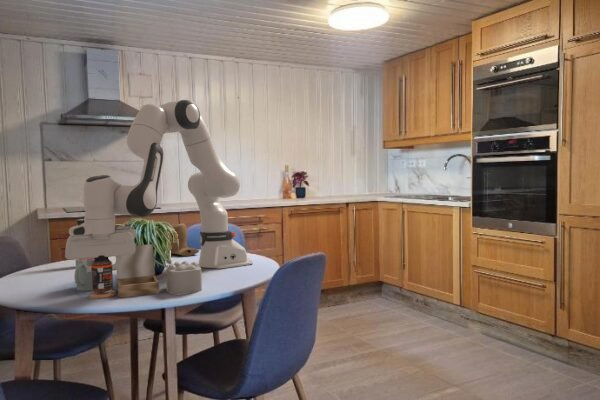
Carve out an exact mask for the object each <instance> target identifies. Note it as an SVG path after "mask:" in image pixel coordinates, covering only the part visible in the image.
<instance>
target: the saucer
mask: <svg viewBox="0 0 600 400" xmlns="http://www.w3.org/2000/svg"><path fill="white" fill-rule="evenodd" d="M116 295H117V291H116V290H113V289H111V290H109V291H104V292H95V291H92V292H90V293H89V298H90V299H95V300H97V299H98V300H100V299H107V298H112V297H114V296H116Z"/></svg>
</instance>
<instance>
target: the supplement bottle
mask: <svg viewBox="0 0 600 400" xmlns="http://www.w3.org/2000/svg"><path fill="white" fill-rule="evenodd" d="M94 259H95V260H94V262H93V263H92V285H93V290H92V292H104V291H109V290H113V289H114V282H113V281H114V280H113V279H114V278H113V271H112V264H113V262H112V260H110V259H109V257H105V256H104V255H100V256H98V257H97V258H94Z"/></svg>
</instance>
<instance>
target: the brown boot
mask: <svg viewBox="0 0 600 400" xmlns="http://www.w3.org/2000/svg"><path fill="white" fill-rule="evenodd" d="M170 226H172V227H173V228H174V229H175V231H176V232H177V234H178V239H179V250H178V246H177V243H173V245H172V249H171V248H170V250H171V253H170V254H173V255H178V256H184V257H189V256H194V255H196V254H198V253H200V250H199V249H197V248H193V247H189V246H188V245H187V244H188V243H187V241H188V240H187V239H188V230H187V229H188V228H187V225H186V224H185V223H184V222H183V223H175V224H172V225H170Z"/></svg>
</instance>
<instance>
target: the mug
mask: <svg viewBox="0 0 600 400" xmlns="http://www.w3.org/2000/svg"><path fill="white" fill-rule="evenodd" d="M94 260H95V259H94V258H87V262H86V263H87V264H88V266H92V263H93V262H94ZM74 282H75V284H76V290H77V291H85V292H87V291H93V285H92V272H91V273H87V270H86V267H85V265H84V264H83V263H82V259H75V270H74Z"/></svg>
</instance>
